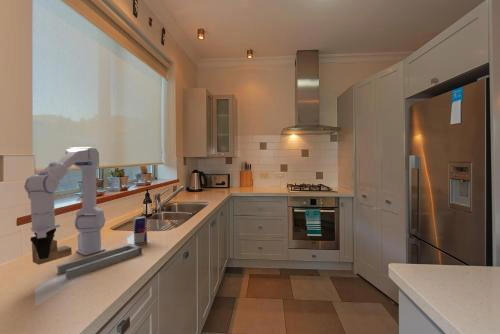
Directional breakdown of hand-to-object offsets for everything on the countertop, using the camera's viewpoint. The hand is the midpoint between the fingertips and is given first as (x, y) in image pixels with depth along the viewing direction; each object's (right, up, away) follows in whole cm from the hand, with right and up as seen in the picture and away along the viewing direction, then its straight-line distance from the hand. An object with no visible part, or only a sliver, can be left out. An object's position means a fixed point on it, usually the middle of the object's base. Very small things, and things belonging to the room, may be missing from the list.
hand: (45, 255), depth 81 cm
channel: (+10, -8, +14) cm, 18 cm away
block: (+1, -2, +2) cm, 3 cm away
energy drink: (+15, -7, +35) cm, 39 cm away
